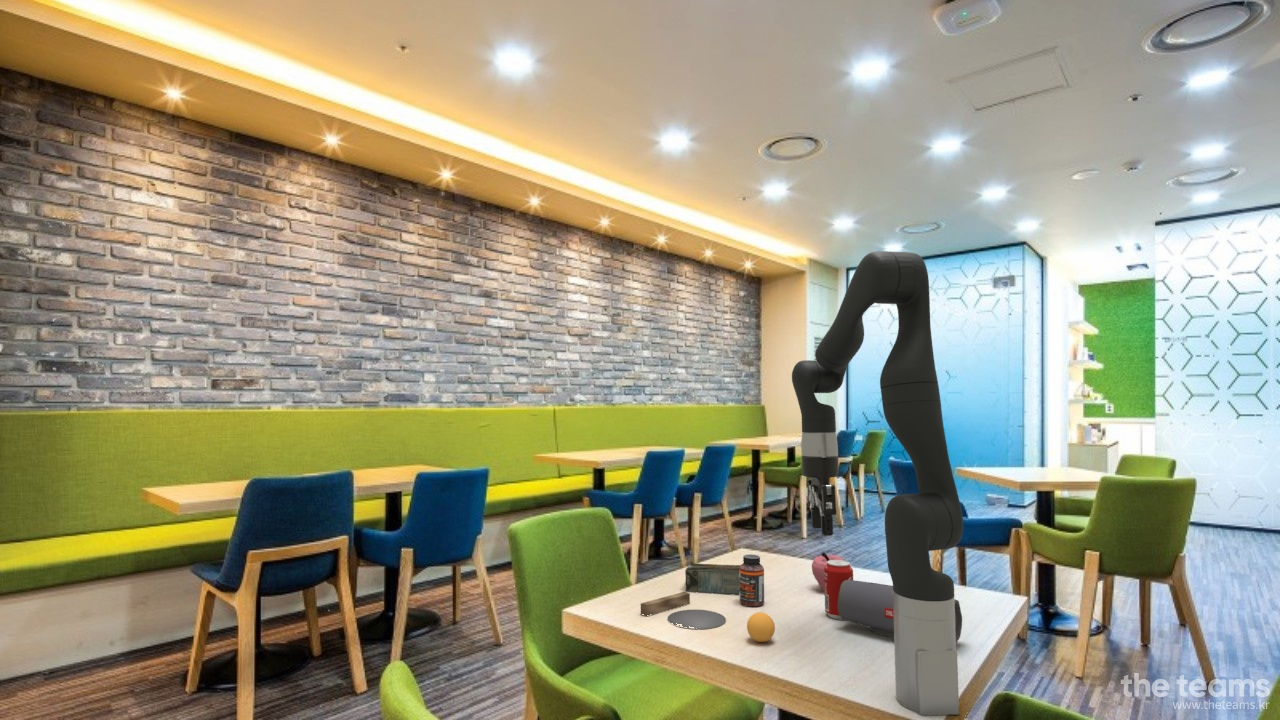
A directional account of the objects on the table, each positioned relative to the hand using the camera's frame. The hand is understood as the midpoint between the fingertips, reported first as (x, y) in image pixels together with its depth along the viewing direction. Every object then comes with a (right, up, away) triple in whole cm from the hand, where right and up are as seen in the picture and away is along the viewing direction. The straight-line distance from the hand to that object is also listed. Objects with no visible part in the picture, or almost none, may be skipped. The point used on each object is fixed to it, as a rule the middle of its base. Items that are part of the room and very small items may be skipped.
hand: (822, 531), depth 139 cm
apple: (+10, -23, +30) cm, 40 cm away
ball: (-14, -18, -5) cm, 23 cm away
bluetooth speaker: (+15, -21, -2) cm, 26 cm away
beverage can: (+7, -22, +10) cm, 25 cm away
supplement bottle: (-11, -23, +20) cm, 32 cm away
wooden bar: (-32, -22, +16) cm, 42 cm away
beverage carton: (-17, -24, +32) cm, 43 cm away
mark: (-26, -22, +8) cm, 35 cm away
